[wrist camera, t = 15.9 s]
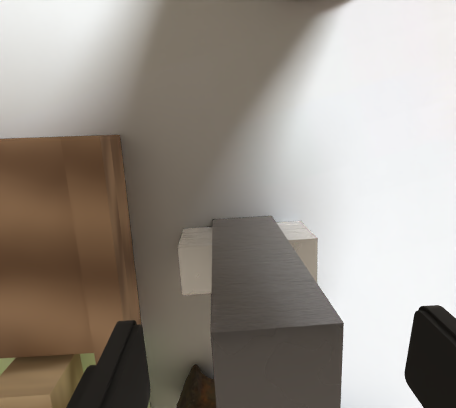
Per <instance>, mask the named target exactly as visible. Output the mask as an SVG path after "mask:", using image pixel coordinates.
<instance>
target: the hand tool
mask: <svg viewBox="0 0 456 408" xmlns="http://www.w3.org/2000/svg"><path fill="white" fill-rule="evenodd" d="M177 408H216V395H215V382H214V379H212V378H209V377H207V376H205V375H204V374H203V373H202V372H201V370H200V368H199V366H197V365H194V366H193V367H192V369H191V371H190V374H189V376H188V377H187V379H186V382H185V384H184V387H183V390H182V392H181V395H180V399H179V402H178V403H177Z"/></svg>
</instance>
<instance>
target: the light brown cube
mask: <svg viewBox="0 0 456 408" xmlns="http://www.w3.org/2000/svg"><path fill="white" fill-rule="evenodd" d="M82 375H83V369H82V363H81V357H80V354H68V355H51V356H34V357H17V358H15V359H14V360H13V361H12V363H11V364H10V365H9V366H8V367H7V368H6V370H5V371H4V372H3V373H2V374H1V375H0V408H66V407H67V405H68V403H69V401H70V399H71V397H72V395H73V393H74V391H75V389H76V387H77V385H78V383H79V381H80V379H81V377H82Z"/></svg>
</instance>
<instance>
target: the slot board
mask: <svg viewBox="0 0 456 408" xmlns="http://www.w3.org/2000/svg"><path fill="white" fill-rule="evenodd" d="M127 320H135V321H136V323H137V325H138V324H141V317H140V308H139V299H138V290H137V281H136V272H135V264H134V255H133V246H132V237H131V228H130V219H129V210H128V201H127V192H126V184H125V175H124V166H123V157H122V148H121V139H120V135H96V136H67V137H39V138H10V139H0V358H17V357H34V356H51V355H68V354H85V353H94V356H95V362H96V365H97V363H98V361H99V359H100V357H101V355H102V353H103V350H104V348H105V346H106V344H107V342H108V340H109V338H110V336H111V333H112V331H113V329H114V327H115V325H116V323H117V322H118V321H127Z"/></svg>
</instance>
